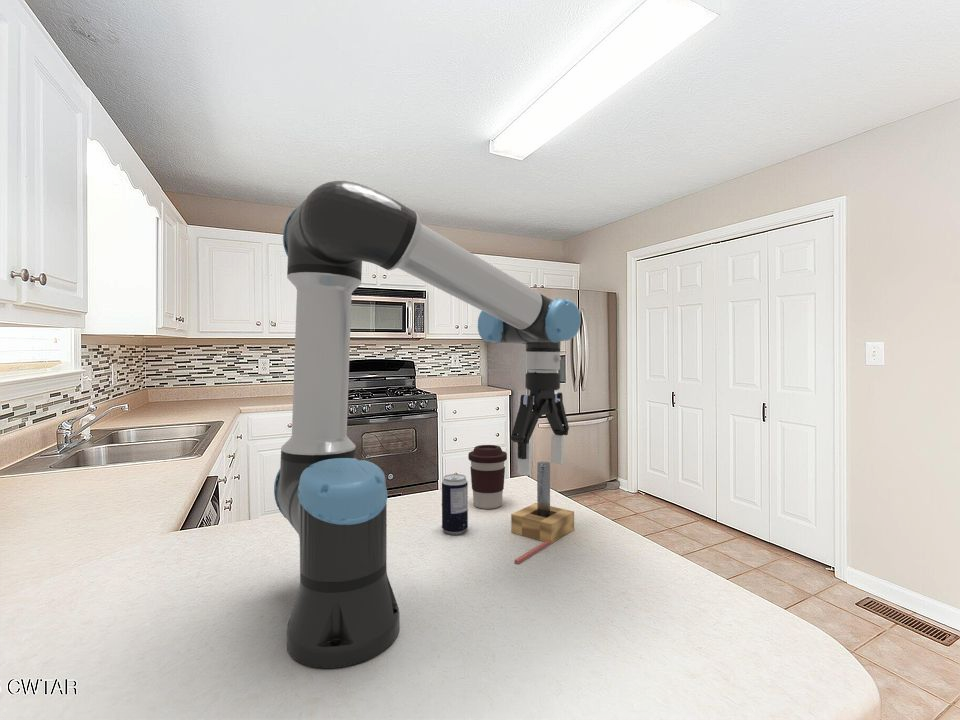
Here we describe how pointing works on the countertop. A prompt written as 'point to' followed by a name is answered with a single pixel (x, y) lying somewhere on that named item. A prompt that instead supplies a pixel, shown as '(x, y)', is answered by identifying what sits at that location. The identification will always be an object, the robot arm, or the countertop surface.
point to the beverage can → (454, 504)
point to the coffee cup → (487, 475)
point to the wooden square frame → (542, 523)
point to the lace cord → (532, 552)
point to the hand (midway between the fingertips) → (541, 468)
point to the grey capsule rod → (543, 489)
